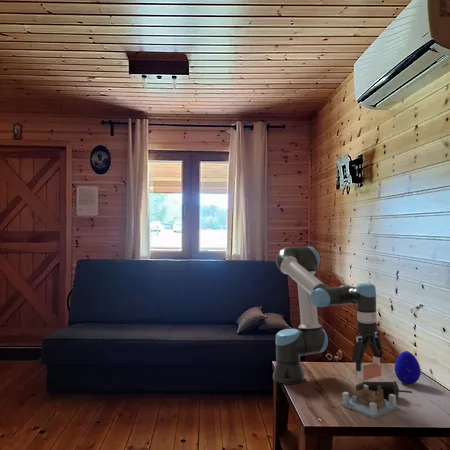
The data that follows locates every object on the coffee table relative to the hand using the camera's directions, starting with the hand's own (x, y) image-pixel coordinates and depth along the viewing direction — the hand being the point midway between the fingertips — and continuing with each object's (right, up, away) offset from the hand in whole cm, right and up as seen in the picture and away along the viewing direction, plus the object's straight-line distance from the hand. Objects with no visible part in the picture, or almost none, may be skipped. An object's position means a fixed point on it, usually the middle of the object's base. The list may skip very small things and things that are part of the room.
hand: (368, 375), depth 168 cm
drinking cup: (+2, -10, +14) cm, 17 cm away
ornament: (+27, -13, +24) cm, 38 cm away
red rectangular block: (0, 0, 0) cm, 0 cm away
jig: (0, -13, 0) cm, 13 cm away
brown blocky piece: (0, -12, 0) cm, 12 cm away
